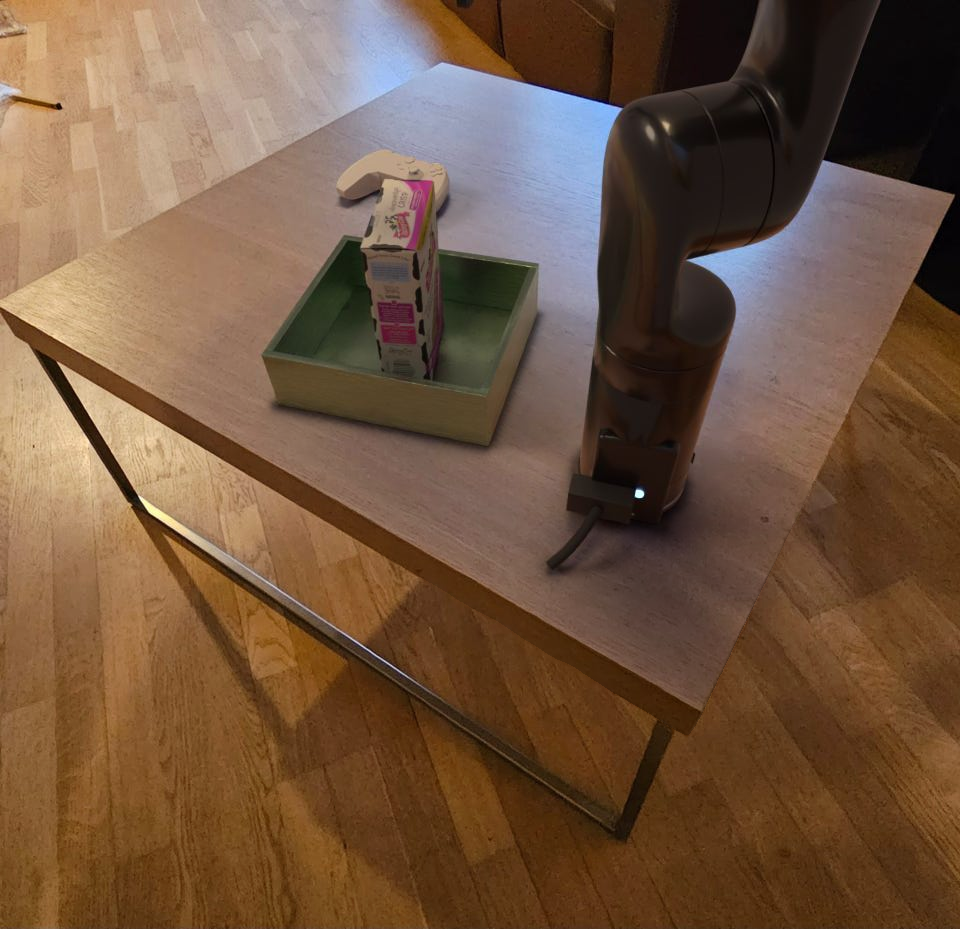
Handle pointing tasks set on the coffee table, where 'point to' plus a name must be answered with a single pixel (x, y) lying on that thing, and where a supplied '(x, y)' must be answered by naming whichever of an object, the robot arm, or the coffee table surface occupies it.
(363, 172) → the game controller
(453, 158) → the coffee table surface
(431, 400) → the shallow wooden crate
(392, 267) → the candy bar box
